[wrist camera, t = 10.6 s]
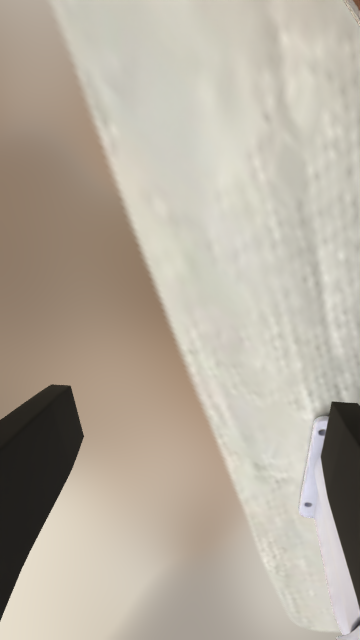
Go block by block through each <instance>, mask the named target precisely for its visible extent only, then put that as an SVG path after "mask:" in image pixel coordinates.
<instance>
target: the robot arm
mask: <svg viewBox="0 0 360 640" xmlns="http://www.w3.org/2000/svg"><path fill="white" fill-rule="evenodd" d="M321 429H324V430H323V431H320V430H321ZM83 437H84V435H83V431H82V427H81V424H80V420H79V416H78V412H77V408H76V405H75V401H74V397H73V393H72V389H71V386H67V385H50V386H48V387H47V388H45V389H44V390H42V391H41V392H39V393H38V394H36V395H35V396H34V397H32V398H31V399H29V400H28V401H26V402H25V403H24V404H22V405H21V406H19V407H18V408H16V409H15V410H14V411H12V412H11V413H10V414H8V415H7V416H5V417H4V418H2V419H1V420H0V620H1V618H2V615H3V613H4V610H5V608H6V605H7V603H8V601H9V598H10V596H11V593H12V591H13V589H14V586H15V584H16V581H17V579H18V576H19V574H20V571H21V569H22V567H23V565H24V563H25V561H26V559H27V557H28V554H29V552H30V550H31V548H32V546H33V544H34V542H35V540H36V538H37V537H38V535H39V533H40V531H41V529H42V527H43V525H44V523H45V521H46V519H47V517H48V515H49V513H50V511H51V510H52V508H53V506H54V504H55V502H56V500H57V498H58V496H59V494H60V492H61V490H62V488H63V486H64V484H65V482H66V480H67V478H68V476H69V474H70V472H71V470H72V468H73V465H74V462H75V460H76V457H77V454H78V451H79V449H80V446H81V443H82V440H83ZM299 514H300V515H301V516H303V517H308V518H314V520H315V526H316V531H317V536H318V541H319V546H320V551H321V556H322V561H323V566H324V571H325V576H326V581H327V586H328V591H329V596H330V601H331V606H332V610H333V613H334V616H335V619H336V622H337V624H338V626H339V629H340V630H341V632H342V634H343V635H342V636H338V637H337V638H336V640H360V406H359V404H358V403H344V402H332V404H331V409H330V414H329V416H320V417H317V418H316V419H315V421H314V425H313V430H312V436H311V442H310V447H309V453H308V458H307V464H306V469H305V475H304V480H303V486H302V491H301V497H300V502H299Z"/></svg>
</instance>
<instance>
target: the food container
mask: <svg viewBox="0 0 360 640" xmlns="http://www.w3.org/2000/svg"><path fill="white" fill-rule="evenodd" d="M344 2H345V3H346V5H347V7H348V8H349V10H350V11H351V13H352V14H353V16H354V18H355V19H356V21H357V22H358V24H359V26H360V0H344Z"/></svg>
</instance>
